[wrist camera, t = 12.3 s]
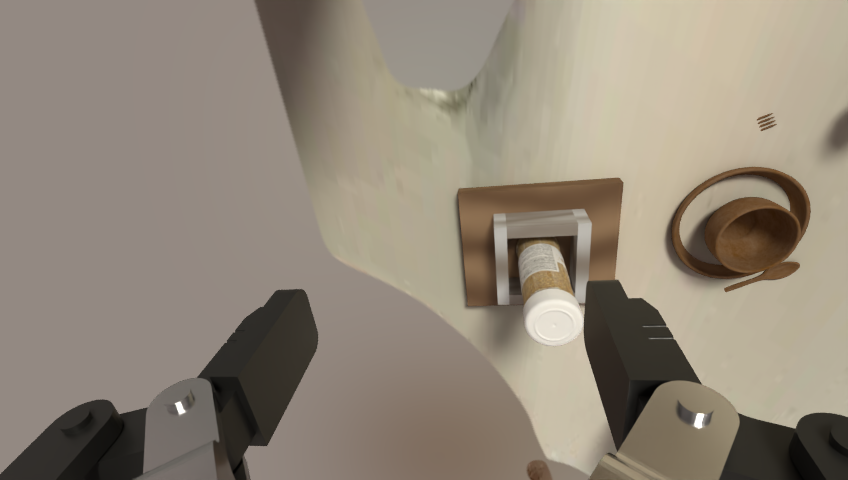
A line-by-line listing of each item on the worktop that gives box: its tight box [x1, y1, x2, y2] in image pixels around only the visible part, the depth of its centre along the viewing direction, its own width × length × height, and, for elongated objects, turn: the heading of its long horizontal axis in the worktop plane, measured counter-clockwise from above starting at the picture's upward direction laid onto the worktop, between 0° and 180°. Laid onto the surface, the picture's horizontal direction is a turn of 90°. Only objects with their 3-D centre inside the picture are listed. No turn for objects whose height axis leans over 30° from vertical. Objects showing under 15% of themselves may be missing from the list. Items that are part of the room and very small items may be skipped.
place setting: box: [672, 113, 811, 292], centre depth 39 cm, size 18×20×6 cm
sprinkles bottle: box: [516, 236, 584, 346], centre depth 39 cm, size 5×5×13 cm
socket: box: [458, 178, 623, 306], centre depth 44 cm, size 14×16×5 cm
